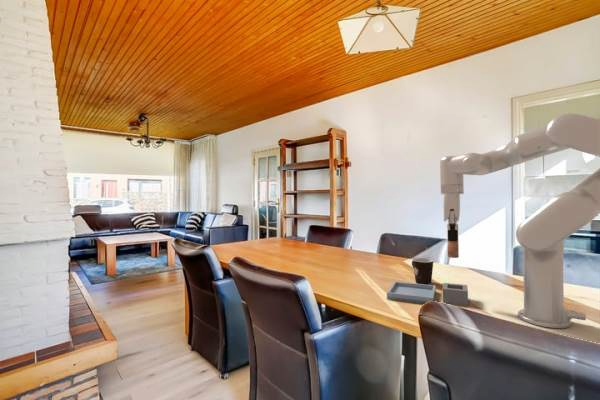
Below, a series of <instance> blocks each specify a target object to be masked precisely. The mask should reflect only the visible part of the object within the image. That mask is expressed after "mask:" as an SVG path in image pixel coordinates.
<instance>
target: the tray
mask: <svg viewBox="0 0 600 400" xmlns="http://www.w3.org/2000/svg"><path fill="white" fill-rule="evenodd" d="M436 292H437V291H436V285H435V284H434V285H433V284H432V285H431V284H429V285H425V284H417V283H416V282H414V283H413V282H404V281H403V282H402V281H394V282H393V283H392V284H391V285H390V287H389V289H388V290H387V292H386V299H387V300H389V301H390V300H391V301H398V302H406V303H407V302H408V303H415V304H422V305H423V304H424V303H426V302H428V301H434V302H435V297H436ZM424 305H425V304H424Z"/></svg>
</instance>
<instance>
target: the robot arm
mask: <svg viewBox="0 0 600 400" xmlns="http://www.w3.org/2000/svg"><path fill="white" fill-rule="evenodd" d="M568 149H573V150H575V151H579V152H582V153H585V154H589V155H592V156H595V157H599V158H600V119H599V118H595V117H591V116H586V115H582V114H578V113H573V112H572V113H570V112H569V113H564V114H563V113H562V114H560V115H558V116H556V117H554V118H553V119H552V120H550V122H549V123H548V124H545V125H544V126H543V125H542V126H541V127H538V128H536V129H533V130H530V131H527V132H523V133H521V134H518V135H516V136H515V137H513V138H512V139H511V140H510V141H509V142H508V143H506V144H505V145H502V146H501V147H498V148H496V149H494V150H491V151H488V152H484V153H479V152H478V153H476V152H468V153H464V154H461V155H448V156H442V157H441V158H440V161H439V164H440V165H439V170H440V172H439V173H440V175H439V176H440V179H439V180H440V195H443V221H444V222H445V223H446V222H447V224H448V241H458V242H459V229H458V230H457V224H458V222H459V220H460V215H461V214H460V213H461V195H464V194H465V193H464V192H465V191H464V190H465V187H464V175H467V176H485V175H489V174H492V173H496V172H498V171H502V170H505V169H508V168H511V167H514V166H516V165H521V164H523V163H525V162H529V161H533V160H535V159H538V158H541V157H545V156H548V155H551V154H555V153H558V152H562V151H564V150H568ZM598 214H600V167H599V168H598V169H597V170H596V171H595V172H593V173H592V174H590V175H589V176H588V177H587V178H586V179H584V180H583V181H582V182H581V183H579V184H577V185H576V186H575V187H573V188H572V189H570V190H569V191H565V192H562V193H561V192H560V194H558V195H556V196H555V197H553V198H551V200H549V201H547V202H546V203H545V204H544V205H543V206H541V207H540V208H538V210H536V211H535V212H534V213H532V214H531V215H530V216H528V217H527V218H525V219H524V220H523V221H522V222H521V223H520V224H518V226H517V228H516V231H515V237H516V240H517V242H518V244H519V246H521V247H522V248H523V257H522V258H523V261H522V262H523V270H522V271H523V274H522V275H523V309H520V310H518V311H517V315H518V316H517V317H519V318H520V319H521V320H523V321H525V322H527V323H530V324H531V325H535V326H538V327H545V328H551V329H566V328H569V327H571V326H572V319H574V320H575V319H576V320H581V321H586V319H587V316H586V313H584V312H578V311H577V310H573V309H572V310H571V309H567V308H566V307H565V306H564V305H565V301H564V299H565V298H564V295H565V292H564V291H565V290H564V247H565V240H566V239H568V238H569V237H570V236H572V235H573V234H575V233H576V232H578V231H580V230H581V229H582V228H584V227H585V226H587V225H588V224H590V223H591V222H592V221H594V219H595V218H596V217H597V216H598Z"/></svg>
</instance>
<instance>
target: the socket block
mask: <svg viewBox="0 0 600 400" xmlns="http://www.w3.org/2000/svg"><path fill="white" fill-rule="evenodd" d="M468 290H469V289H468V285H467V284H462V283H461V284H459V283H452V282H451V283H448V282H443V283H442V303H443V302H444V304H451V303H452V304H454V305H459V304H460V306H469V291H468Z"/></svg>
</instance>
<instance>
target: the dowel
mask: <svg viewBox="0 0 600 400" xmlns="http://www.w3.org/2000/svg"><path fill="white" fill-rule="evenodd" d="M446 228H447V229H446V230H447V231H446V233H447V234H446V235H447V237H446V238H447V241H446V242H447V245H446V246H447V258H450V259H451V258H452V259H458V258H460V257H459V256H460V255H459V253H460V252H459V240H458V241H448V223H447V224H446ZM457 230H458V231H459V223H457Z"/></svg>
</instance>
